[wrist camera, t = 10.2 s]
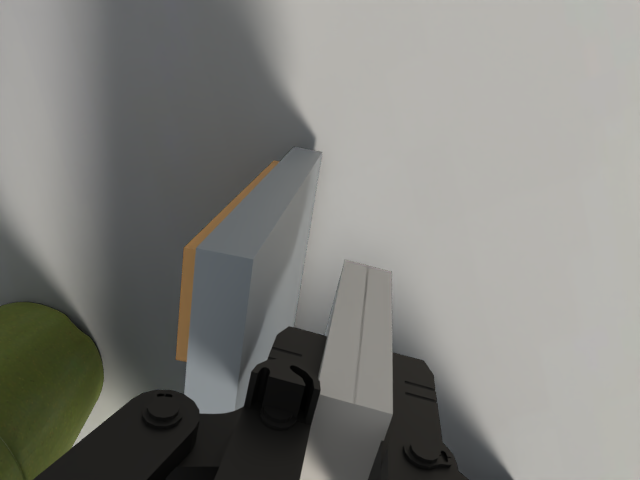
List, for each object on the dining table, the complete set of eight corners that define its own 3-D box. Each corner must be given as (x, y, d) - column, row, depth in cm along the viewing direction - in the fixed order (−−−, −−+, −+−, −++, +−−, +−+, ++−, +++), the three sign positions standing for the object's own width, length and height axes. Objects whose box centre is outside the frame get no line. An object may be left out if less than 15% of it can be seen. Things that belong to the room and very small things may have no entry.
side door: (324, 152, 22) (258, 260, 11) (262, 531, 29) (185, 826, 18) (280, 144, 22) (167, 241, 11) (229, 523, 30) (133, 812, 18)
